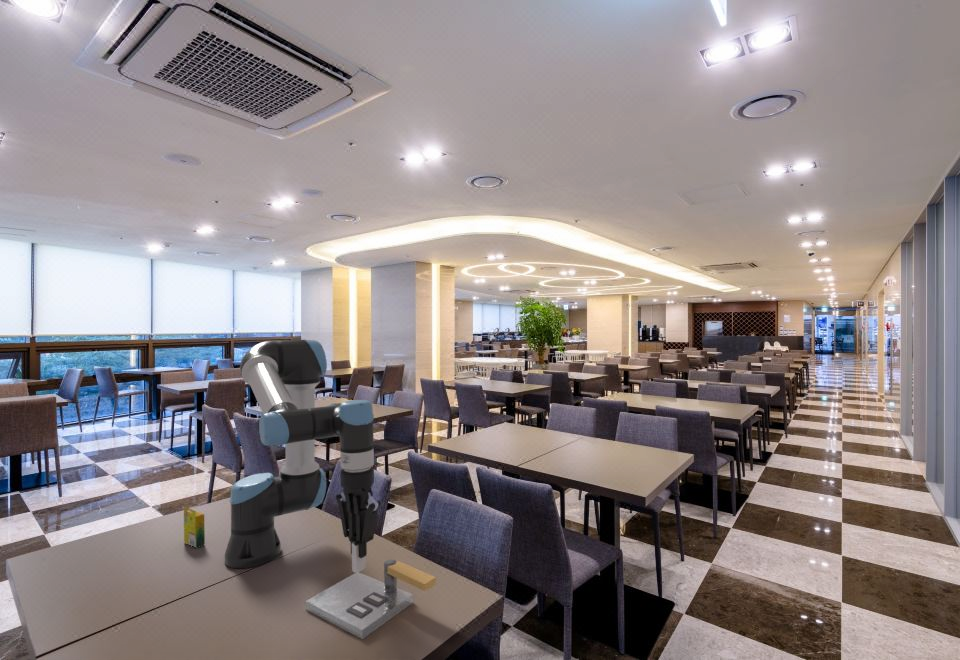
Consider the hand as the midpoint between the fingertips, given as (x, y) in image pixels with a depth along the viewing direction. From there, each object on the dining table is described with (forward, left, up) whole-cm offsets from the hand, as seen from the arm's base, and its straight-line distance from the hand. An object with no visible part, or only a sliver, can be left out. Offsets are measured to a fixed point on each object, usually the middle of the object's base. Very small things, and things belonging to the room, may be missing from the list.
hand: (358, 569), depth 106 cm
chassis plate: (-4, +3, -11) cm, 13 cm away
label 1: (0, 0, -9) cm, 9 cm away
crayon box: (-75, -2, -12) cm, 76 cm away
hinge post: (0, +10, -11) cm, 15 cm away
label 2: (0, +5, -9) cm, 11 cm away
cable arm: (+6, +10, -4) cm, 12 cm away
